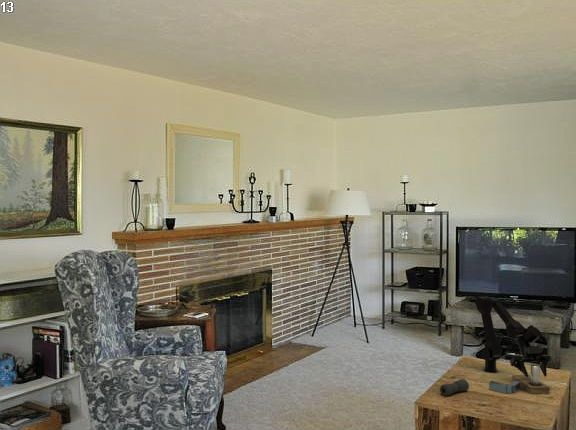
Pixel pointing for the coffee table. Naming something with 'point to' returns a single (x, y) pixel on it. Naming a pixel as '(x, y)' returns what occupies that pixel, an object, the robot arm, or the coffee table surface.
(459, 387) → the flashlight
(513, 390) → the v block
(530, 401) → the coffee table surface
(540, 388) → the slotted block
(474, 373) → the coffee table surface
